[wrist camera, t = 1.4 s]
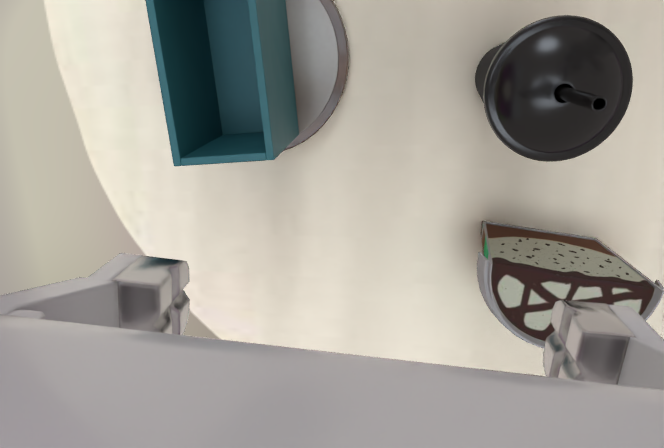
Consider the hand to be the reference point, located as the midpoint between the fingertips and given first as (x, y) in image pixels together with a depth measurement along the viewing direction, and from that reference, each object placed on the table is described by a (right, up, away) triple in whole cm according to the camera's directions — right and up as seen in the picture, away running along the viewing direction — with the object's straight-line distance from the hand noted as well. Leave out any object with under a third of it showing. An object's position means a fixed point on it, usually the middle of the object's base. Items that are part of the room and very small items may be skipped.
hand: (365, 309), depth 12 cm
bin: (-7, +14, +30) cm, 34 cm away
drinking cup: (+13, +13, +31) cm, 36 cm away
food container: (+16, -1, +35) cm, 38 cm away
